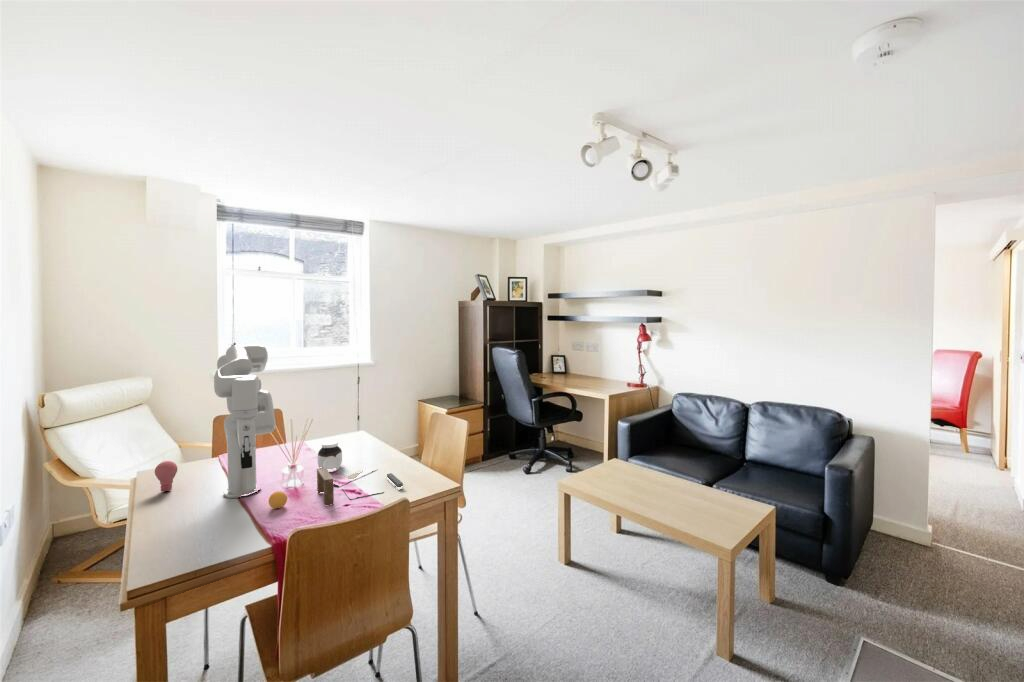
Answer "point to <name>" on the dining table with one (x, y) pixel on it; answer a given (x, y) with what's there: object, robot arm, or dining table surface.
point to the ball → (277, 499)
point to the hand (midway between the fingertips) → (246, 465)
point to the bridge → (325, 485)
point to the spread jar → (330, 455)
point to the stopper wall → (395, 480)
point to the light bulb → (166, 474)
